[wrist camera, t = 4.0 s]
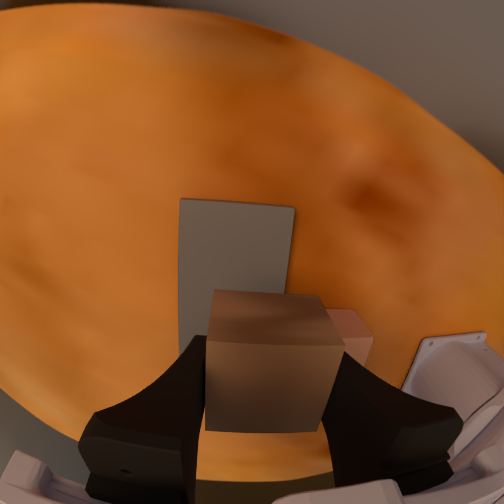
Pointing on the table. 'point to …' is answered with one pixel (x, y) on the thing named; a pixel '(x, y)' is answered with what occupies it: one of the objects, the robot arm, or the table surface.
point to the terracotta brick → (352, 333)
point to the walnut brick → (269, 362)
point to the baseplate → (228, 255)
